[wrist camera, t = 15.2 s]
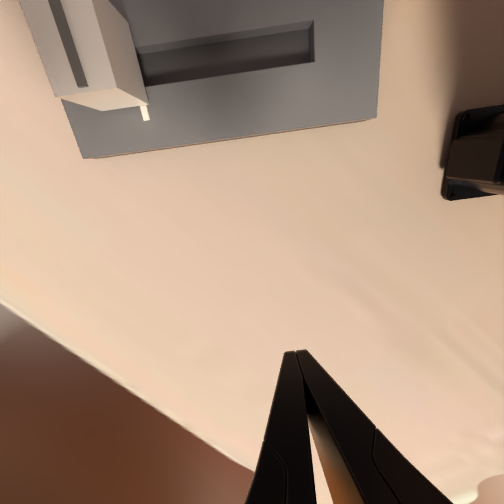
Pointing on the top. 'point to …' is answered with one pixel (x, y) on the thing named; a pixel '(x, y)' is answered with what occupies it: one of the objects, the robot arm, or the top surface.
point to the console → (239, 72)
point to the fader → (86, 52)
